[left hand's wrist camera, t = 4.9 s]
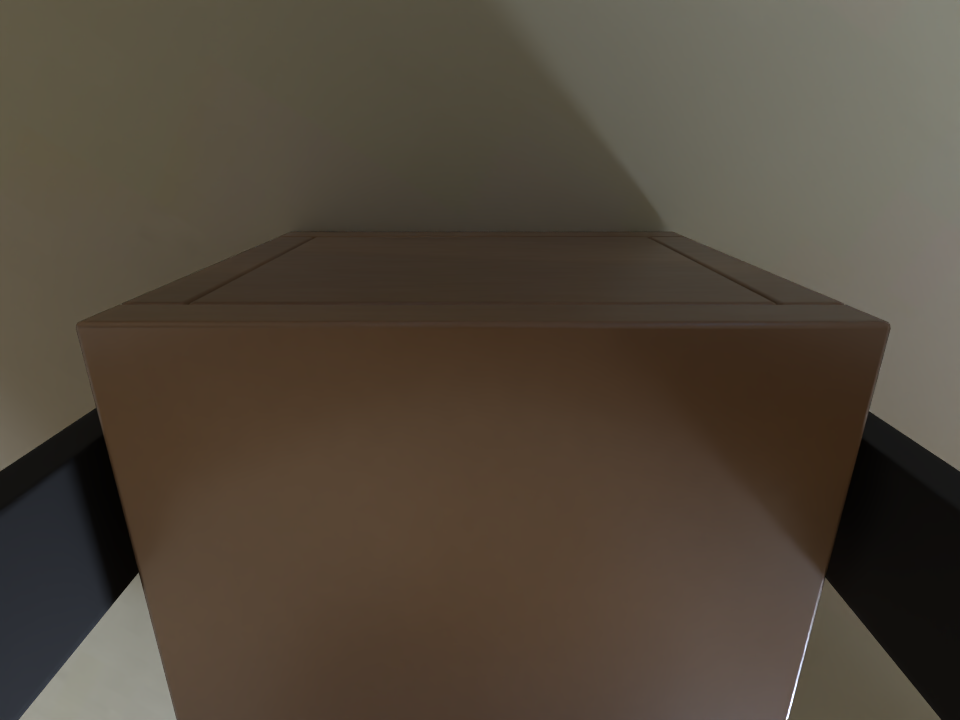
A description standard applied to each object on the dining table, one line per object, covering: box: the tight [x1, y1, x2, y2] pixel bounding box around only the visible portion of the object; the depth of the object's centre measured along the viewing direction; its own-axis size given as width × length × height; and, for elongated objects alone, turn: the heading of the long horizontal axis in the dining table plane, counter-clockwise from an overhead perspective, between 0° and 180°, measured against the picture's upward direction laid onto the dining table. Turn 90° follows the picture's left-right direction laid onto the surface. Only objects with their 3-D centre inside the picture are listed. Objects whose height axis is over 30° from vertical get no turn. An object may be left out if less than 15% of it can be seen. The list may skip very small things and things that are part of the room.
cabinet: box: [76, 232, 890, 720], centre depth 15 cm, size 18×11×9 cm, turn 0°
